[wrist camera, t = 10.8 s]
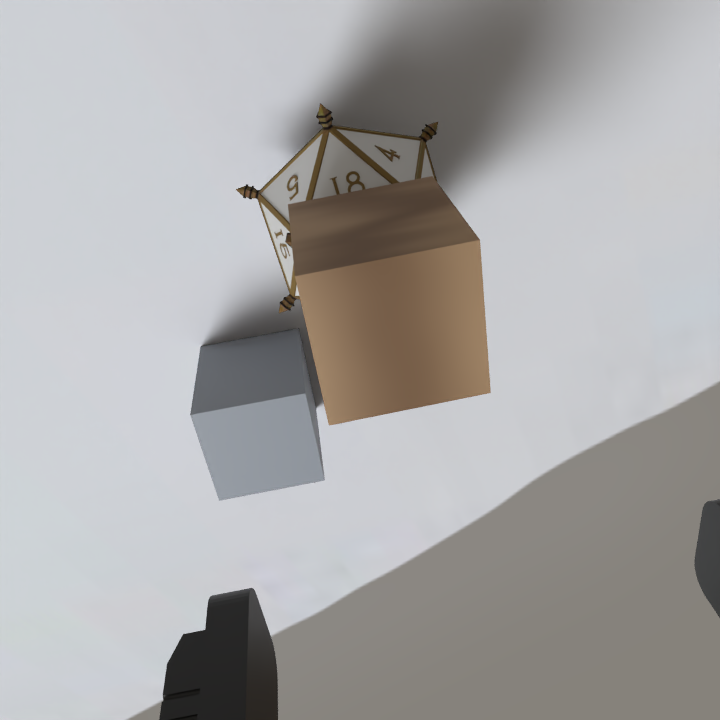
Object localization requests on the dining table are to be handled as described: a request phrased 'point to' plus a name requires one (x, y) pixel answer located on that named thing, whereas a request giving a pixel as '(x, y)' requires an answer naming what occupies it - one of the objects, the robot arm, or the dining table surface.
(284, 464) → the slate block
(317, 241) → the walnut block
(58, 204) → the dining table surface
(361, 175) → the game die
